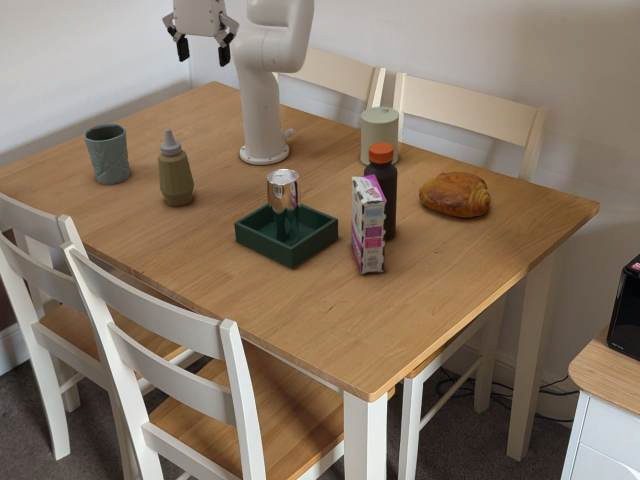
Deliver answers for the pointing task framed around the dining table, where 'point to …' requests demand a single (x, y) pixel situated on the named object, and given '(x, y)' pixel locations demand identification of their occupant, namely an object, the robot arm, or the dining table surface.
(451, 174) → the croissant
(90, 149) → the grey green cup
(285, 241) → the beer glass
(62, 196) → the dining table surface
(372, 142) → the can
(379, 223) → the candy bar box
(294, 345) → the dining table surface
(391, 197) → the vinegar
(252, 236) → the tote
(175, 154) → the squeeze bottle
